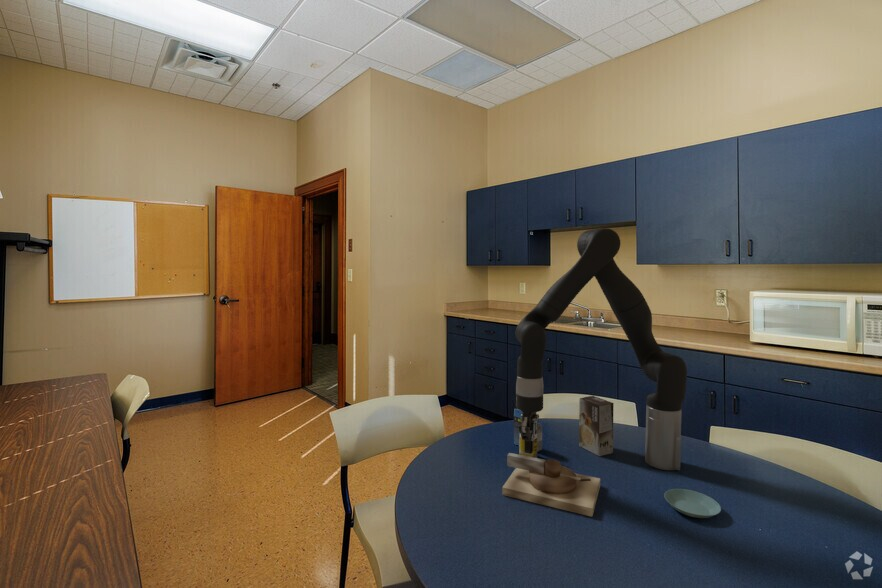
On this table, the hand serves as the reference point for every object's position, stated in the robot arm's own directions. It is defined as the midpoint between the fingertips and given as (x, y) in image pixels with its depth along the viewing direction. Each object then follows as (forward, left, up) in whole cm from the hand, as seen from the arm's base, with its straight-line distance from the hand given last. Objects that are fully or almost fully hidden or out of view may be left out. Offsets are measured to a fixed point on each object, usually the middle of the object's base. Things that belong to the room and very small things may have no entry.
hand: (529, 452), depth 121 cm
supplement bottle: (+3, -10, -6) cm, 12 cm away
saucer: (-40, +1, -6) cm, 41 cm away
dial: (-6, +7, -4) cm, 10 cm away
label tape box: (+5, -17, -6) cm, 19 cm away
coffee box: (-15, -25, -6) cm, 30 cm away
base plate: (-8, +7, -6) cm, 12 cm away
